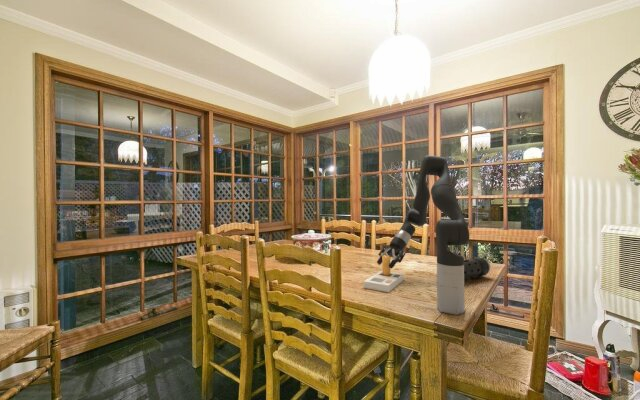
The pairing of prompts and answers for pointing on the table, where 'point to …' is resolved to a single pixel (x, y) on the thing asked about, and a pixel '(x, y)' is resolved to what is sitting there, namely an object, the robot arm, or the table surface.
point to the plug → (385, 266)
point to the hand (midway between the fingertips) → (384, 265)
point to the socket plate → (383, 281)
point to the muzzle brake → (475, 267)
